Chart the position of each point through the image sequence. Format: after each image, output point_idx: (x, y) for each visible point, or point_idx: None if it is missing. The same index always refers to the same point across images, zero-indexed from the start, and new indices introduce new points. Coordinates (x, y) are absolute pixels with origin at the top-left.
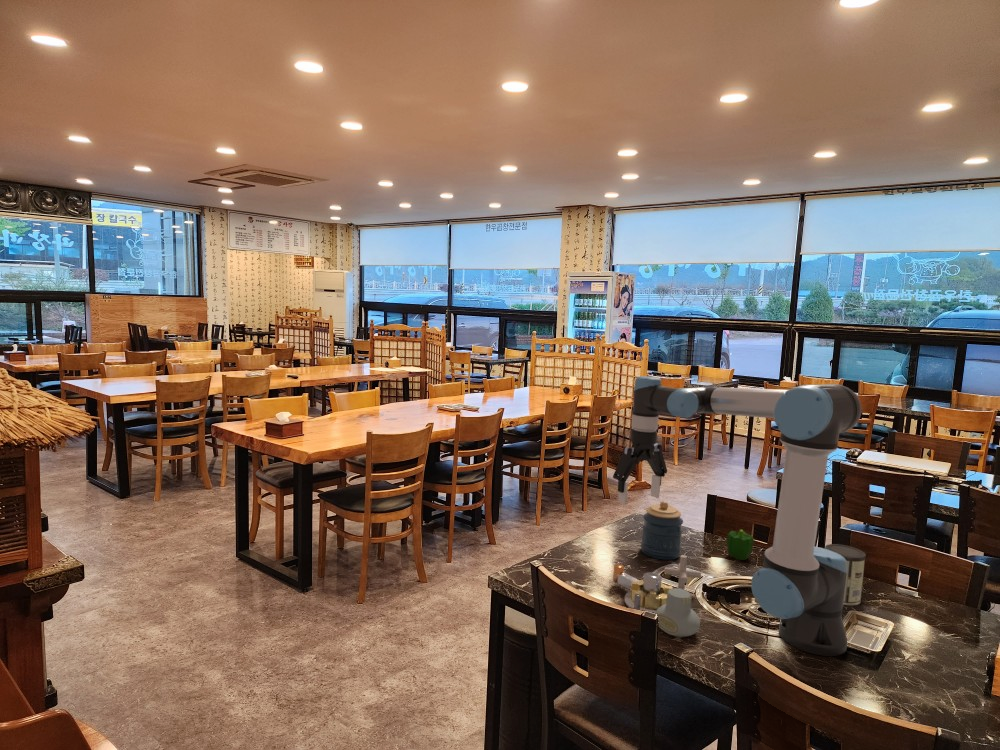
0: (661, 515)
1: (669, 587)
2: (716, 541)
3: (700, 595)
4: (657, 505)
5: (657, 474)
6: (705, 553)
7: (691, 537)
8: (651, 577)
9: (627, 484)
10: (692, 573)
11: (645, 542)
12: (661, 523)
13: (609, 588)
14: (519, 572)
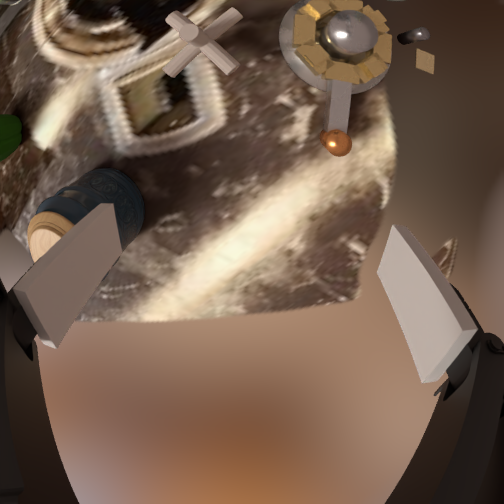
0: None
1: (319, 3)
2: (11, 196)
3: (197, 13)
4: None
5: (22, 324)
6: (44, 165)
7: None
8: (364, 28)
9: (457, 314)
10: (189, 21)
11: (134, 226)
12: None
13: (352, 139)
14: None
